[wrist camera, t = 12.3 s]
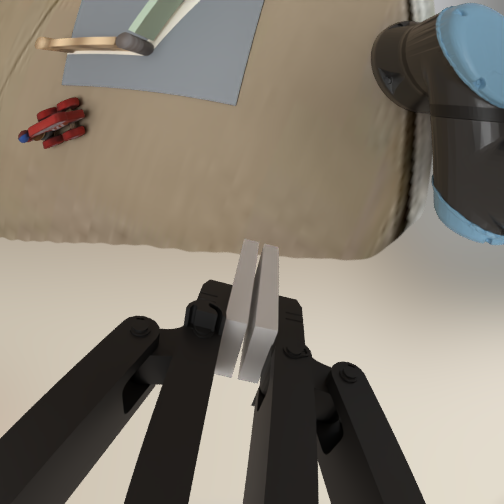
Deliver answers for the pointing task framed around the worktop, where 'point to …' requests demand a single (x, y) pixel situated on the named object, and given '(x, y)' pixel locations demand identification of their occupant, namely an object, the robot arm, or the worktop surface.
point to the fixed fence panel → (97, 44)
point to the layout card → (169, 48)
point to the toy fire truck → (55, 124)
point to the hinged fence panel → (154, 17)
